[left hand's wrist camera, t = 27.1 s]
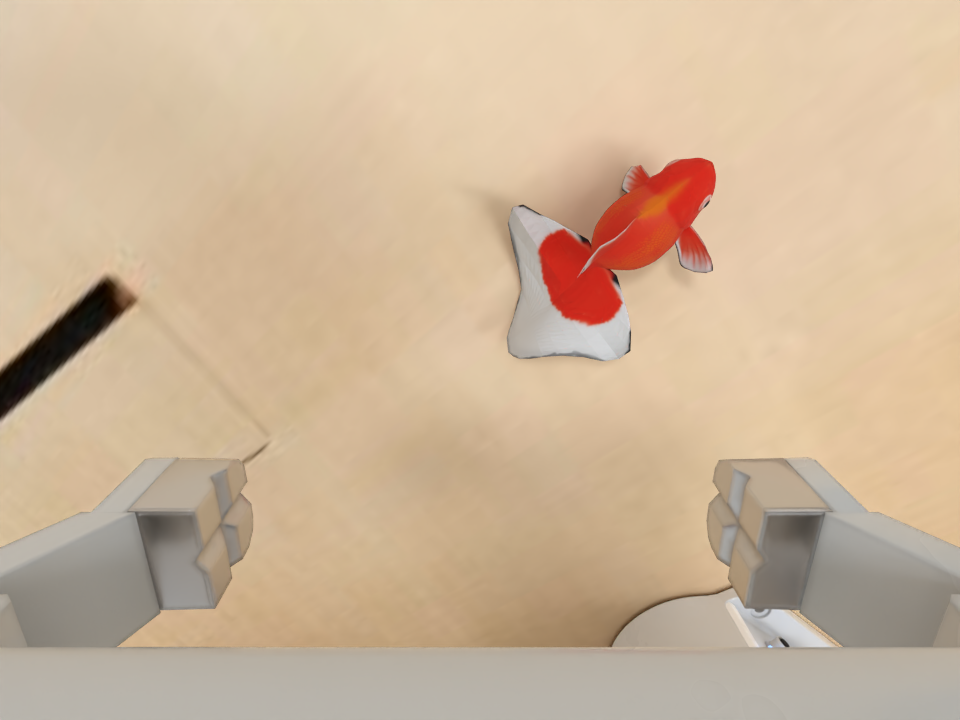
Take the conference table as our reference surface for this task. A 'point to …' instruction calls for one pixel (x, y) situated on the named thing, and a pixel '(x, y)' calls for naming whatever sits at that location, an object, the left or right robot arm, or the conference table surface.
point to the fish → (602, 262)
